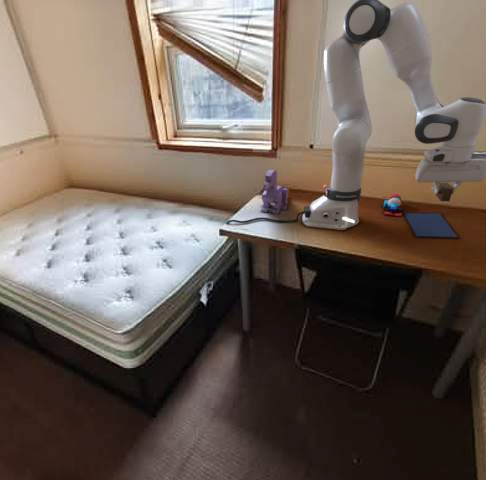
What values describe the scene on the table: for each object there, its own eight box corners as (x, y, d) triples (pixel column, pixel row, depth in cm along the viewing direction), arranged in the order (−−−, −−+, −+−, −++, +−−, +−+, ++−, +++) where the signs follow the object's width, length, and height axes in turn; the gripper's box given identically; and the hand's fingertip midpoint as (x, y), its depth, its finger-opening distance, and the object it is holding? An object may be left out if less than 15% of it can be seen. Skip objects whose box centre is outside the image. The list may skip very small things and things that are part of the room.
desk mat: (416, 237, 120) (417, 236, 120) (404, 214, 136) (404, 213, 136) (457, 238, 117) (457, 237, 117) (440, 214, 133) (440, 213, 132)
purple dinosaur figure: (254, 215, 149) (253, 173, 138) (274, 195, 166) (275, 157, 155) (278, 218, 143) (279, 176, 133) (297, 197, 160) (299, 158, 150)
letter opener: (449, 201, 114) (453, 188, 111) (440, 201, 114) (444, 188, 112) (437, 188, 124) (441, 176, 122) (430, 188, 125) (433, 176, 122)
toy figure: (402, 220, 135) (403, 200, 144) (404, 209, 132) (405, 190, 141) (381, 219, 138) (384, 200, 148) (382, 209, 135) (385, 190, 144)
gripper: (489, 149, 108) (474, 190, 116) (419, 151, 113) (409, 190, 121) (498, 154, 103) (481, 196, 111) (424, 156, 108) (414, 196, 116)
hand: (443, 193), depth 116 cm, fingers closed on letter opener, 2 cm apart
